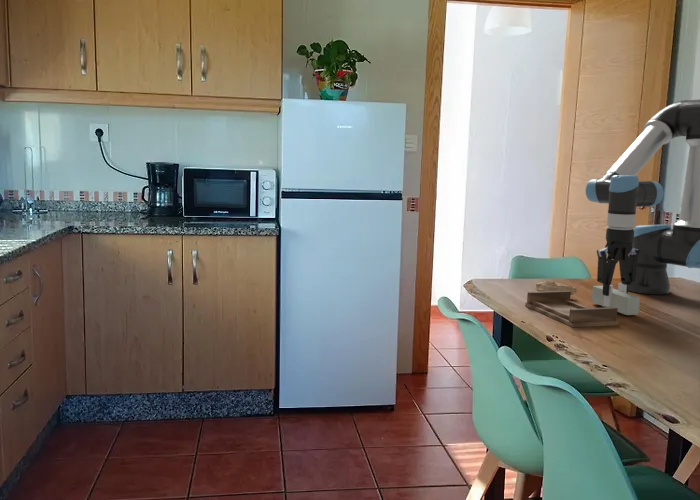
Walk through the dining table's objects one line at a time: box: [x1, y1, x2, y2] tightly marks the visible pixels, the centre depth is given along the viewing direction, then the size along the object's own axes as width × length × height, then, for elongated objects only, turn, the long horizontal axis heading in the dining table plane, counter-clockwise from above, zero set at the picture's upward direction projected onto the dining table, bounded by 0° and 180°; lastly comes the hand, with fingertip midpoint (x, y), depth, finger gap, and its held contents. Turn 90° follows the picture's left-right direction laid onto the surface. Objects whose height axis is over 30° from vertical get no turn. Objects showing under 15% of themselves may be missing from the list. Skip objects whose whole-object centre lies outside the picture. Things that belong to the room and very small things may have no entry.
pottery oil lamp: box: [534, 280, 578, 296], centre depth 199 cm, size 9×12×7 cm
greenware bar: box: [591, 285, 641, 316], centre depth 183 cm, size 4×16×5 cm, turn 14°
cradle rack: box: [524, 291, 619, 328], centre depth 176 cm, size 24×14×4 cm, turn 15°
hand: (614, 305), depth 184 cm, fingers closed on greenware bar, 4 cm apart
